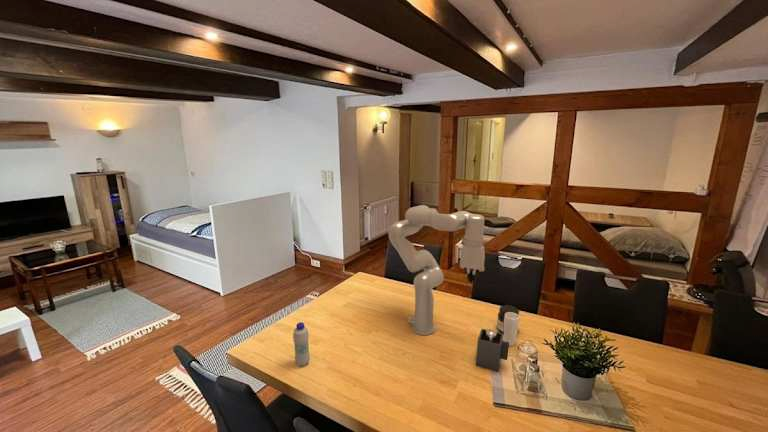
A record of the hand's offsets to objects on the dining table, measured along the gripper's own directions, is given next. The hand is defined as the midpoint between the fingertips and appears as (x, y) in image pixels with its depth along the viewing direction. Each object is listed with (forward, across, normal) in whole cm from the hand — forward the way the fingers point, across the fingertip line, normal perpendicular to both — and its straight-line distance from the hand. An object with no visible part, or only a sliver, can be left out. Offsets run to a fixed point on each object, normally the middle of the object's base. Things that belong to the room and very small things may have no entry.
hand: (471, 281), depth 150 cm
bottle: (+35, -64, -41) cm, 84 cm away
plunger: (+32, +11, -5) cm, 34 cm away
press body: (+35, +12, -5) cm, 38 cm away
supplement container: (+35, +16, +25) cm, 46 cm away
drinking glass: (+35, +18, +14) cm, 42 cm away
